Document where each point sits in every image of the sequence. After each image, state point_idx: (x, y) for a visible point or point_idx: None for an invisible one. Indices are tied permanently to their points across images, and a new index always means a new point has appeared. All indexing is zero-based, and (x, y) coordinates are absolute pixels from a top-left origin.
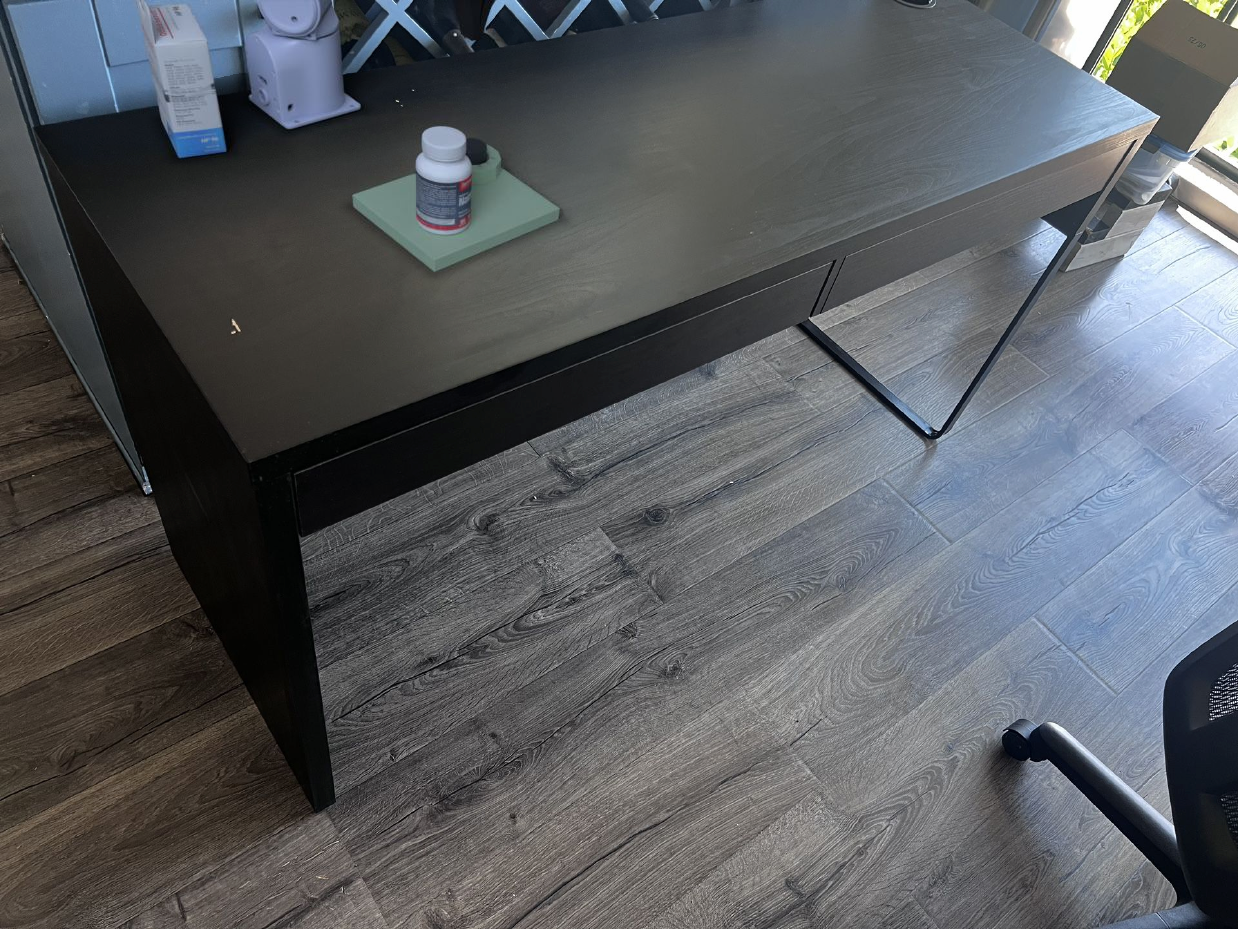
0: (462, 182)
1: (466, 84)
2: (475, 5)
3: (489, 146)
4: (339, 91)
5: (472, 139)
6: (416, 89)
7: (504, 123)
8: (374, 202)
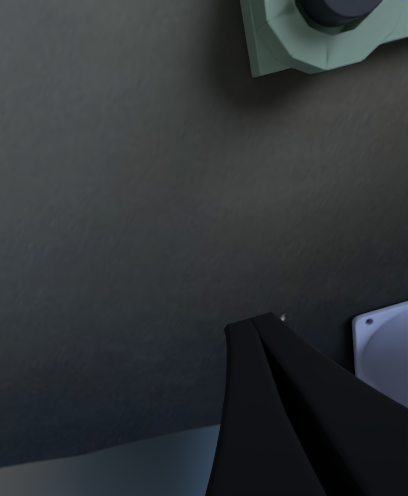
0: None
1: (137, 367)
2: (388, 417)
3: (270, 10)
4: (406, 338)
5: (338, 1)
6: None
7: (120, 223)
8: None
